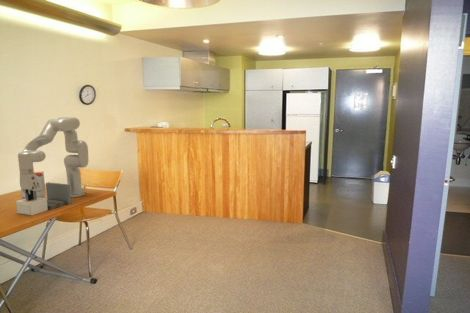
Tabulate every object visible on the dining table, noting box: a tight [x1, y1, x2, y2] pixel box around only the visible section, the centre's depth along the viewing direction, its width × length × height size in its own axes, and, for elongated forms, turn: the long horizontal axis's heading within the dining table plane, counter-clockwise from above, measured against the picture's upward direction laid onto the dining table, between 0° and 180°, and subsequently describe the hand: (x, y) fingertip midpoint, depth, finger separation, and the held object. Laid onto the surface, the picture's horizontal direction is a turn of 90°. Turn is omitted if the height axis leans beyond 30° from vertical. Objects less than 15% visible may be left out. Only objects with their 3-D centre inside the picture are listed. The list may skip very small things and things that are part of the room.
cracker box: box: [20, 170, 47, 200], centre depth 234 cm, size 14×6×21 cm, turn 108°
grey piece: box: [45, 182, 72, 211], centre depth 222 cm, size 15×20×14 cm
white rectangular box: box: [15, 191, 49, 216], centre depth 209 cm, size 12×13×13 cm
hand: (29, 199), depth 208 cm, fingers closed on white rectangular box
